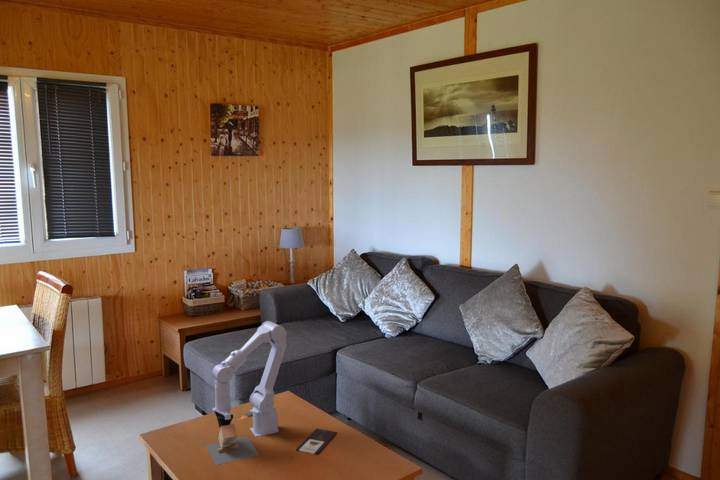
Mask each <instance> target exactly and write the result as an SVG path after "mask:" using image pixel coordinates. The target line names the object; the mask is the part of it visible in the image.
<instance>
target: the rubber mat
mask: <svg viewBox="0 0 720 480" xmlns="http://www.w3.org/2000/svg"><path fill="white" fill-rule="evenodd" d="M236 444H239V445H240V448H238V449H234V450H229V451H225V452H221V453H218V449H219V448H221V447H220V443H219V442H216V443H211V444H207V445H205V447H206V449H207V452H208V453H209V455H210V457H211V460H212V461H213V464H214V466H219V465H223V464H228V463H233V462H235V461H239V460H243V459H248V458H253V457H256V456H259V455H260V454H259V452H258V451H257V449H256V448H255V446H254V444H253V443H252V442H251V440H250V439H249V437H248V436H243V437H238V438H237V439H236V443H235V445H236Z"/></svg>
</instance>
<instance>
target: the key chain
mask: <svg viewBox="0 0 720 480" xmlns="http://www.w3.org/2000/svg"><path fill="white" fill-rule="evenodd" d="M249 417H253V408H252V409H250V410H249V411H248V412H246V413H245V414H244V415H242V416H241V417H240V418H238V421H239V420H243V419H246V418H249Z"/></svg>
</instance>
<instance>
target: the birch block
mask: <svg viewBox="0 0 720 480" xmlns="http://www.w3.org/2000/svg"><path fill="white" fill-rule="evenodd" d="M237 433H238V432H237V429H236V425H235V423H230V425H226V426H221V427H219V433H218V437H217V439H218V443H220V447H221V448H223V447H228V446H232V445H235V443H236V439H237V437H238V434H237Z"/></svg>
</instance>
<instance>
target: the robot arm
mask: <svg viewBox="0 0 720 480" xmlns="http://www.w3.org/2000/svg"><path fill="white" fill-rule="evenodd" d="M287 335H288V332H287V331H286V329H285V328H284V326H283V325H279V324H277V323H274V322H273V321H271V320H266V321H264V322H263V323H262V324H261V325H260V326H258V328H257V329H256V332H255V333H254V334H253V335H252V336H251V337H250V338H249V339H248V341H246V343H245V344H244V345H243V346H242V347H241V348H239V349H235V350H234V351H231V352H230V354H229V355H228V356H227V358H225V359H224V360H222V361H221V362H220V363H218V364H217V365H215V366H214V367H213V369H212V371H211V373H210V374H211V376H212V378H214V400H215V401H214V402H215V404H214V405H215V407H213V408H212V412H214V414H215V417H216V419H217V423H218V427H219V428H220V427H221V426H226V425H230V424H232V420H233V419H234V415H233V413H231V412H232V404H231V403H232V400H231V399H232V398H231V397H232V395H231V380H232V379H233V376H234V374H235V372H236V371H237V370H238V369H239V368H241V366H242V365H243V364H244V363H245V362H246V360H247V356H249V354H250V353H251V352H253V351H254V350H255V349H257V347H258V346H260V345H261V344H262V343H264V344H265V343H270V346H271V348H270V351H269V355H268V357H267V361H266V363H265V368H264V370H263V374H262V376H261V380H260V383H259V384H258V385H256V386H255V388H254V390H253V392H252V393H251V394H250V396H249V403H250V405H251V406H252V409H253V415H252V427H250V428H249V430H250V431H251V433H252V434H253V435H254V437H256V438H258V437H262V436H267V435H270V434H275V433H279V431H280V430H279V422H278V421H279V417H278V412H277V409H276V407H274V406H275V396H276V395H275V391H274V386H275V383H276V379H277V377H278V374H279V370H280V367H281V364H282V361H283V358H284V356H285V351H286V348H287Z"/></svg>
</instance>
